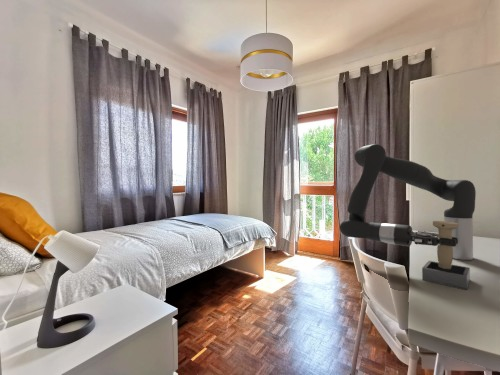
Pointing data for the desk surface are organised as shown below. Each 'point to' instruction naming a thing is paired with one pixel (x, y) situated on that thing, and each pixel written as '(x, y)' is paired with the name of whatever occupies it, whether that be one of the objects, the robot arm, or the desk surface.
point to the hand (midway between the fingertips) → (456, 242)
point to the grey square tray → (446, 275)
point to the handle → (442, 250)
